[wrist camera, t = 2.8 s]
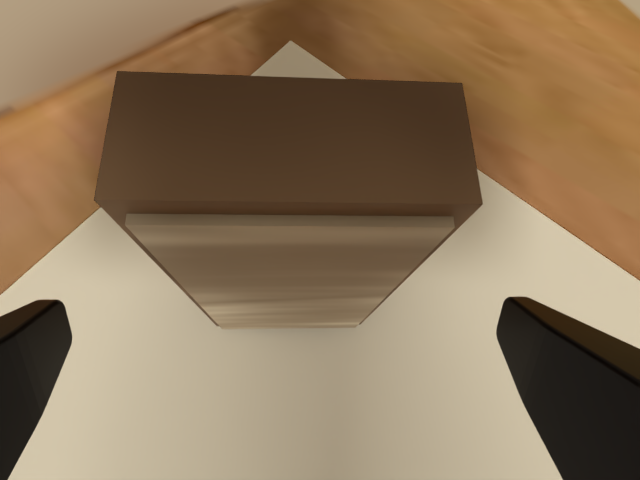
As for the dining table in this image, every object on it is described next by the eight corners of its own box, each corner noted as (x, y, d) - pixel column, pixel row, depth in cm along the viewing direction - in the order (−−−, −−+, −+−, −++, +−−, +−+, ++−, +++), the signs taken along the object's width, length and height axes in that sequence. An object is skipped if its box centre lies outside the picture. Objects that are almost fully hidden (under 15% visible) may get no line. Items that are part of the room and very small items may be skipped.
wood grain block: (360, 329, 18) (485, 215, 7) (216, 331, 17) (92, 212, 6) (357, 270, 19) (462, 82, 8) (220, 270, 18) (117, 71, 7)
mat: (304, 1177, 11) (305, 1206, 10) (-231, 507, 15) (-245, 509, 14) (687, 321, 20) (695, 319, 19) (290, 46, 24) (290, 40, 23)
